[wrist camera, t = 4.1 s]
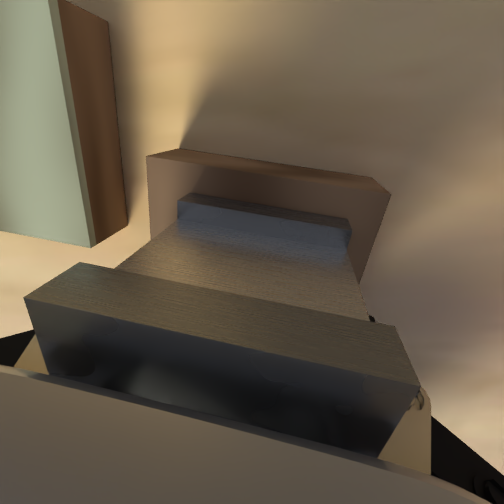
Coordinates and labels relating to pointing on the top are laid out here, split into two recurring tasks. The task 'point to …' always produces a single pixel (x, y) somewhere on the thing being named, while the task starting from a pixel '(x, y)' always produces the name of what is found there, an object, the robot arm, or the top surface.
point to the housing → (235, 325)
